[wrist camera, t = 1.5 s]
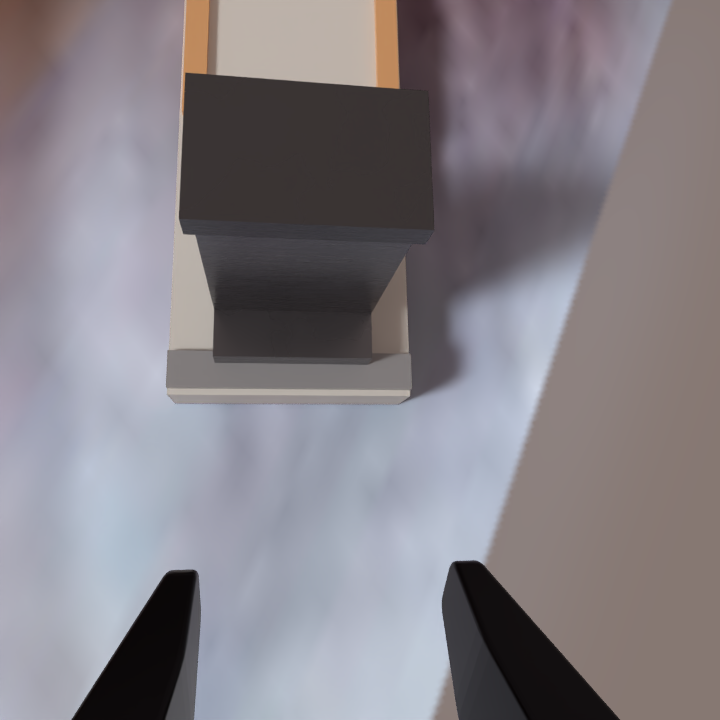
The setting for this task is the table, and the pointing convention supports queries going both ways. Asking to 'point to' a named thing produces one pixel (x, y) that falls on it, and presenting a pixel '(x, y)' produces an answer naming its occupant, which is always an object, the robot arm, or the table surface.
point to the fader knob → (301, 209)
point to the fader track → (189, 284)
